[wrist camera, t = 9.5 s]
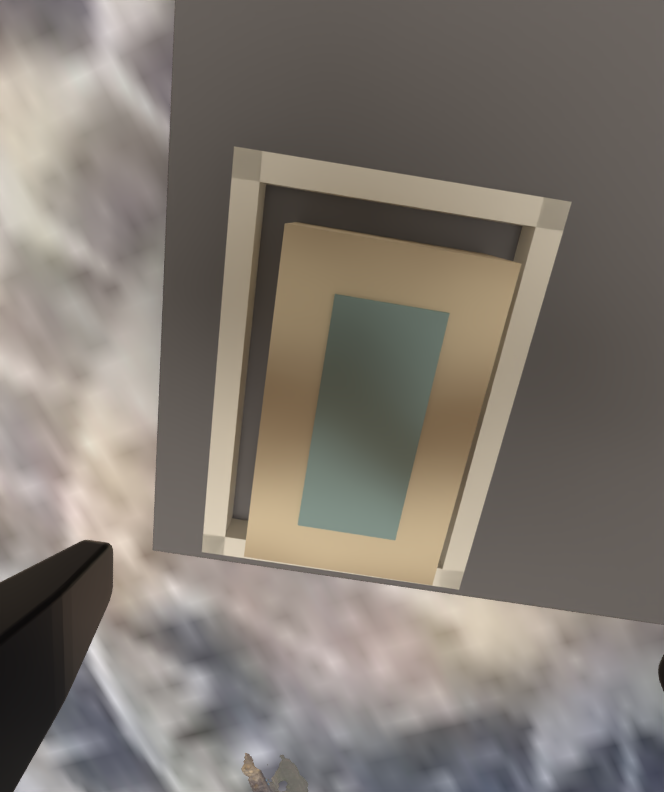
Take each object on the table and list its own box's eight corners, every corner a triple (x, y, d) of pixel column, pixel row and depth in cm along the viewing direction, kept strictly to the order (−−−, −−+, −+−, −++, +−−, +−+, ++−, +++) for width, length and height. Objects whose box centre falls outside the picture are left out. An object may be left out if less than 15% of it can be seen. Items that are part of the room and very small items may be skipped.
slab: (417, 522, 19) (432, 587, 16) (261, 498, 19) (243, 558, 16) (485, 253, 16) (522, 264, 13) (297, 222, 16) (284, 223, 13)
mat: (1060, -3, 14) (1158, -33, 12) (730, 624, 21) (763, 660, 20) (189, -158, 13) (166, -212, 12) (157, 541, 21) (141, 570, 19)
